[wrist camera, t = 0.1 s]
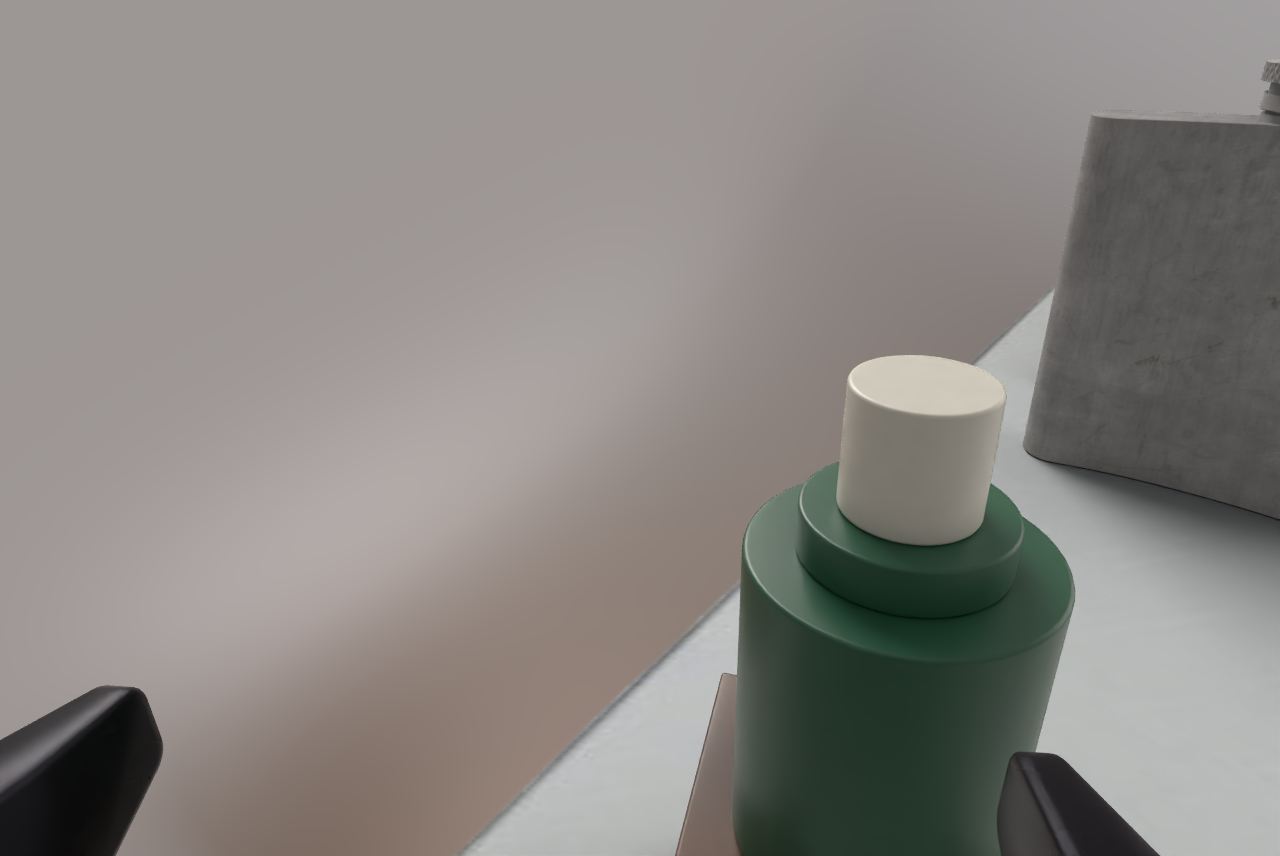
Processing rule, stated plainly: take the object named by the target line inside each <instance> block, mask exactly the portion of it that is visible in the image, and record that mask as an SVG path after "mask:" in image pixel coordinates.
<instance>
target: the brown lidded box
mask: <svg viewBox="0 0 1280 856" xmlns="http://www.w3.org/2000/svg"><path fill="white" fill-rule="evenodd" d="M736 693H737V675H733V674H727V673H723V674H722V675H721V679H720V683H719V687H718V691H717V695H716V699H715V702H714V706H713V710H712V714H711V718H710V722H709V726H708V730H707V734H706V737H705V741H704V745H703V749H702V753H701V757H700V761H699V765H698V768H697V772H696V776H695V780H694V784H693V788H692V792H691V796H690V800H689V803H688V807H687V811H686V815H685V819H684V823H683V827H682V831H681V835H680V838H679V842H678V846H677V850H676V854H675V856H743V854H742V853H741V850H740V847H739V844H738V841H737V839H736V835H735V830H734V825H733V817H732V794H733V769H734V743H735V718H736Z"/></svg>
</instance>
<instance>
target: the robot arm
mask: <svg viewBox="0 0 1280 856" xmlns="http://www.w3.org/2000/svg"><path fill="white" fill-rule="evenodd" d="M162 754H163V742H162V738H161V735H160V733H159V730H158V727H157V725H156V722H155V719H154V716H153V714H152V711H151V708H150V706H149V703H148V700H147V698H146V696H145V694H144V693H143V692H142V691H141V690H140V689H138V688H135V687H123V686H122V687H121V686H108V685H107V686H100V687H97V688H95V689H93V690H91V691H89V692H87V693H85V694H84V695H82V696H80V697H78V698H77V699H74V700H73V701H71V702H69V703H67V704H65V705H63V706H62V707H60V708H58V709H56V710H54V711H53V712H51V713H49V714H47V715H45V716H43V717H42V718H40V719H38V720H36V721H34V722H32V723H31V724H29V725H27V726H25V727H23V728H21V729H20V730H18V731H16V732H14V733H12V734H10V735H9V736H7V737H5V738H3V739H1V740H0V856H116V854H117V852H118V850H119V848H120V846H121V844H122V842H123V840H124V837H125V835H126V833H127V831H128V829H129V827H130V825H131V823H132V821H133V819H134V817H135V815H136V813H137V811H138V809H139V807H140V805H141V803H142V800H143V799H144V796H145V794H146V792H147V790H148V788H149V786H150V784H151V782H152V780H153V778H154V776H155V774H156V772H157V770H158V768H159V765H160V762H161V758H162ZM997 833H998V839H999V845H1000V851H1001V856H1160V855H1159V854H1158V853H1157V852H1156V851H1155V850H1154V849H1153V848H1152V847H1151V846H1150V845H1149V844H1148V843H1147V842H1146V841H1145V840H1144V839H1143V838H1142V837H1141V836H1140V835H1139V834H1138V833H1137V832H1136V831H1135V830H1134V829H1133V828H1132V827H1131V826H1130V825H1129V824H1128V823H1127V822H1126V821H1125V820H1124V819H1123V818H1122V817H1121V816H1120V815H1119V814H1118V813H1117V812H1116V811H1115V810H1114V809H1113V808H1112V807H1111V806H1110V805H1109V804H1108V803H1107V802H1106V801H1105V800H1104V799H1103V798H1102V797H1101V796H1100V795H1099V794H1098V793H1097V792H1096V791H1095V790H1094V789H1093V788H1092V787H1091V786H1090V785H1089V784H1088V783H1087V782H1086V781H1085V780H1084V779H1083V778H1082V777H1081V776H1080V775H1079V774H1078V773H1077V772H1076V771H1075V770H1074V769H1073V768H1072V767H1071V766H1070V765H1069V764H1068V763H1067V762H1066V761H1065V760H1064V759H1062V758H1061V757H1059V756H1058V755H1055V754H1050V753H1036V752H1022V751H1020V752H1016V753H1014V754H1013V755H1012V756H1011V758H1010V760H1009V763H1008V767H1007V771H1006V775H1005V780H1004V784H1003V788H1002V792H1001V796H1000V801H999V805H998V810H997Z"/></svg>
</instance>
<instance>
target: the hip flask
mask: <svg viewBox="0 0 1280 856" xmlns="http://www.w3.org/2000/svg"><path fill="white" fill-rule="evenodd" d="M1261 80H1263V81H1267V82H1271V85H1270V88H1269V90H1267V91H1264V95H1263V98H1262V101H1261V103H1260V105H1259V107H1260V108H1261V109H1263V110H1266V111H1262V112H1261V115H1240V114H1216V113H1192V112H1191V113H1190V112H1189V113H1188V112H1163V111H1160V112H1159V111H1132V110H1110V111H1097V112H1093V113H1092V114H1091V118H1090V123H1089V127H1088V132H1087V137H1086V142H1085V147H1084V151H1083V156H1082V161H1081V167H1080V171H1079V176H1078V180H1077V185H1076V190H1075V196H1074V200H1073V205H1072V210H1071V214H1070V219H1069V224H1068V229H1067V234H1066V238H1065V243H1064V248H1063V253H1062V258H1061V263H1060V267H1059V273H1058V278H1057V282H1056V287H1055V292H1054V296H1053V301H1052V306H1051V311H1050V316H1049V321H1048V325H1047V330H1046V335H1045V340H1044V345H1043V349H1042V354H1041V359H1040V364H1039V369H1038V374H1037V378H1036V383H1035V388H1034V393H1033V398H1032V403H1031V407H1030V412H1029V417H1028V422H1027V427H1026V432H1025V436H1024V441H1023V447H1024V449H1025V450H1026V451H1027V452H1028V453H1030V454H1031V455H1033V456H1035V457H1037V458H1039V459H1042V460H1045V461H1050V462H1054V463H1060V464H1066V465H1071V466H1076V467H1081V468H1087V469H1092V470H1096V471H1101V472H1106V473H1110V474H1115V475H1119V476H1124V477H1128V478H1132V479H1137V480H1141V481H1145V482H1149V483H1153V484H1157V485H1161V486H1165V487H1168V488H1172V489H1176V490H1180V491H1184V492H1187V493H1191V494H1195V495H1199V496H1202V497H1206V498H1210V499H1213V500H1217V501H1220V502H1224V503H1227V504H1231V505H1234V506H1237V507H1241V508H1244V509H1247V510H1251V511H1254V512H1257V513H1260V514H1264V515H1267V516H1270V517H1273V518H1276V519H1279V520H1280V59H1274V60H1267V61H1266V64H1265V66H1264V71H1263V74H1262V77H1261Z"/></svg>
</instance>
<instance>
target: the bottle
mask: <svg viewBox="0 0 1280 856" xmlns="http://www.w3.org/2000/svg"><path fill="white" fill-rule="evenodd" d="M1006 399H1007V394H1006V390H1005V388H1004V386H1003V384H1002V383H1001V382H1000V381H999V380H998V379H997V378H996V377H994V376H993V375H991V374H990V373H988V372H986V371H984V370H982V369H979V368H977V367H975V366H972V365H969V364H966V363H962V362H959V361H955V360H950V359H945V358H939V357H932V356H920V355H900V356H888V357H882V358H877V359H873V360H870V361H867V362H864V363H862V364H860V365H859V366H857V367H855V369H853V370H852V372H851V373H850V375H849V377H848V381H847V391H846V401H845V411H844V422H843V432H842V442H841V452H840V453H841V454H840V462H837V463H834V464H831V465H829V466H826V467H825V468H823V469H821V470H819V471H817V472H816V473H815V474H813V475H812V476H811V477H810V478H809V479H808V480H807V481H806V482H805V483H803V484H800V485H797V486H795V487H792V488H790V489H788V490H785V491H784V492H782V493H780V494H778V495H776V496H775V497H773V498H772V499H771V500H769V501H768V502H767V503H765V504H764V505H763V506H762V507H761V508H760V509H759V510H758V511H757V512H756V513H755V515H754V516H753V518H752V519H751V521H750V523H749V524H748V527H747V529H746V532H745V534H744V538H743V545H742V565H741V591H740V616H739V642H738V667H737V693H736V718H735V743H734V769H733V794H732V817H733V825H734V830H735V835H736V839H737V841H738V844H739V847H740V850H741V853H742V854H743V856H1001V851H1000V845H999V839H998V833H997V810H998V805H999V801H1000V796H1001V792H1002V788H1003V784H1004V780H1005V775H1006V771H1007V767H1008V763H1009V760H1010V758H1011V756H1012V755H1013V754H1014V753H1016V752H1020V751H1022V752H1035V751H1036V747H1037V743H1038V739H1039V735H1040V732H1041V728H1042V724H1043V720H1044V716H1045V713H1046V709H1047V705H1048V701H1049V697H1050V694H1051V690H1052V686H1053V682H1054V678H1055V675H1056V671H1057V667H1058V663H1059V659H1060V656H1061V652H1062V648H1063V644H1064V640H1065V637H1066V633H1067V629H1068V625H1069V621H1070V618H1071V614H1072V610H1073V606H1074V602H1075V586H1074V581H1073V576H1072V573H1071V571H1070V568H1069V566H1068V564H1067V561H1066V560H1065V558H1064V557H1063V555H1062V554H1061V552H1060V551H1059V549H1058V548H1057V547H1056V545H1055V544H1054V543H1053V542H1052V541H1051V540H1050V539H1049V538H1048V537H1047V536H1046V535H1045V534H1044V533H1043V532H1042V531H1041V530H1040V529H1038V528H1037V527H1036V526H1035V525H1034V524H1032V523H1031V522H1029V521H1028V520H1027V519H1025V518H1024V517H1022V516H1021V514H1020V512H1019V510H1018V508H1017V507H1016V505H1015V504H1014V503H1013V502H1012V501H1011V499H1010V498H1009V497H1008V496H1007V495H1005V494H1004V493H1003V492H1002V491H1001V490H999V489H998V488H997V487H995V486H994V485H992V484H991V483H990V482H991V477H992V472H993V467H994V461H995V456H996V451H997V446H998V440H999V435H1000V430H1001V425H1002V420H1003V414H1004V409H1005V404H1006Z"/></svg>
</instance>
